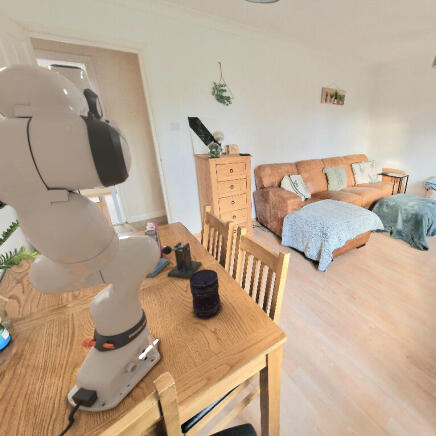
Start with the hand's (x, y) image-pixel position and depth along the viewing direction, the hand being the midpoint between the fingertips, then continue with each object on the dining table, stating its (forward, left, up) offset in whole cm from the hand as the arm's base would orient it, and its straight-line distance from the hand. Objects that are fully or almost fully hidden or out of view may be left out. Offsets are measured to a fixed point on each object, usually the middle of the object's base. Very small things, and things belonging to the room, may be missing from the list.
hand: (98, 165), depth 82 cm
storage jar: (-7, -38, -52) cm, 65 cm away
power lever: (+9, -16, -39) cm, 43 cm away
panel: (+13, 0, -52) cm, 53 cm away
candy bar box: (+25, +6, -52) cm, 58 cm away
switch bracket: (+15, -16, -52) cm, 56 cm away
